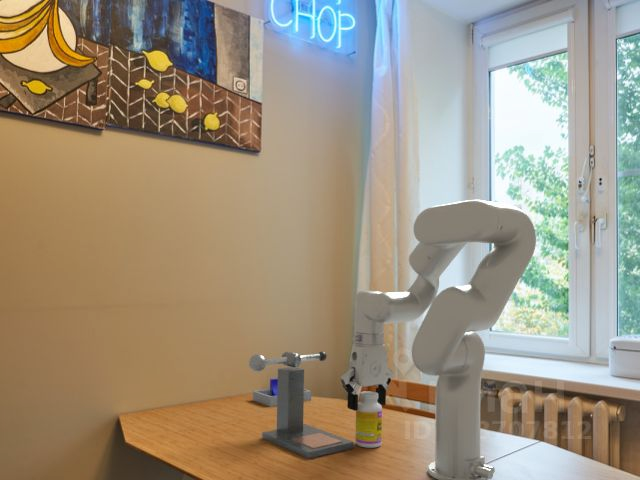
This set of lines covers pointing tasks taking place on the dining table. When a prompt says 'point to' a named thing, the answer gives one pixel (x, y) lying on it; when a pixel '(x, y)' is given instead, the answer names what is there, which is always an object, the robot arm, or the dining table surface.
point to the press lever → (283, 360)
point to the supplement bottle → (368, 421)
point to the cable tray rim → (273, 397)
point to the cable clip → (274, 386)
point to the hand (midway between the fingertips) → (366, 406)
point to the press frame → (299, 421)
